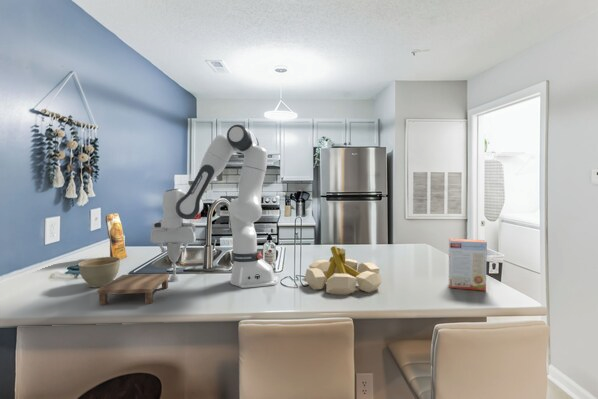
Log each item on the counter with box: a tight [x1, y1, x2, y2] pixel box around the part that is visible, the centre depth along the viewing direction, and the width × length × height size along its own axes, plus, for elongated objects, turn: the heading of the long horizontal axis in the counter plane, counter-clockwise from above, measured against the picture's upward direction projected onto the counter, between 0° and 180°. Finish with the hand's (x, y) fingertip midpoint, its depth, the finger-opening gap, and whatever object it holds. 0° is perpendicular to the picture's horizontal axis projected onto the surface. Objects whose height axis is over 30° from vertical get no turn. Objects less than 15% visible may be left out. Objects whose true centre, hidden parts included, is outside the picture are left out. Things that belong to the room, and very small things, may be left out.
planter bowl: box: [78, 256, 121, 288], centre depth 146 cm, size 16×16×11 cm
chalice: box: [165, 243, 182, 283], centre depth 151 cm, size 7×7×18 cm
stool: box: [96, 273, 170, 306], centre depth 131 cm, size 20×20×6 cm
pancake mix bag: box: [105, 212, 128, 261], centre depth 193 cm, size 7×19×28 cm, turn 3°
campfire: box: [304, 245, 382, 295], centre depth 146 cm, size 35×34×17 cm
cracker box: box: [448, 238, 488, 292], centre depth 138 cm, size 14×6×21 cm, turn 71°
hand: (173, 252), depth 151 cm, fingers open, 8 cm apart
